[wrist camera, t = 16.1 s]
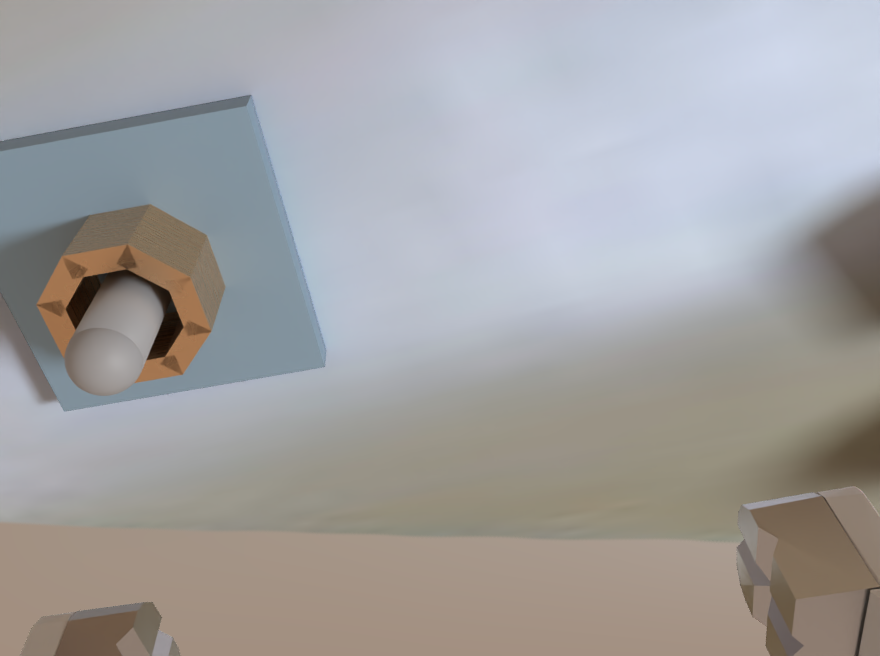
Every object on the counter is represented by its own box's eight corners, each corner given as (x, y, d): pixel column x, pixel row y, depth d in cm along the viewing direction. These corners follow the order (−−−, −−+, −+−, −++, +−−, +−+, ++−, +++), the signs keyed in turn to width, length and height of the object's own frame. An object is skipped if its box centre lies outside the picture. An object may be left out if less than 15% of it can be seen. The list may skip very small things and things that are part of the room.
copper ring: (47, 222, 38) (15, 264, 34) (192, 195, 37) (174, 235, 34) (105, 343, 41) (81, 392, 38) (237, 320, 41) (225, 367, 38)
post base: (-53, 151, 37) (-179, 255, 29) (250, 95, 37) (212, 184, 28) (73, 394, 45) (2, 532, 36) (326, 350, 44) (313, 481, 36)
